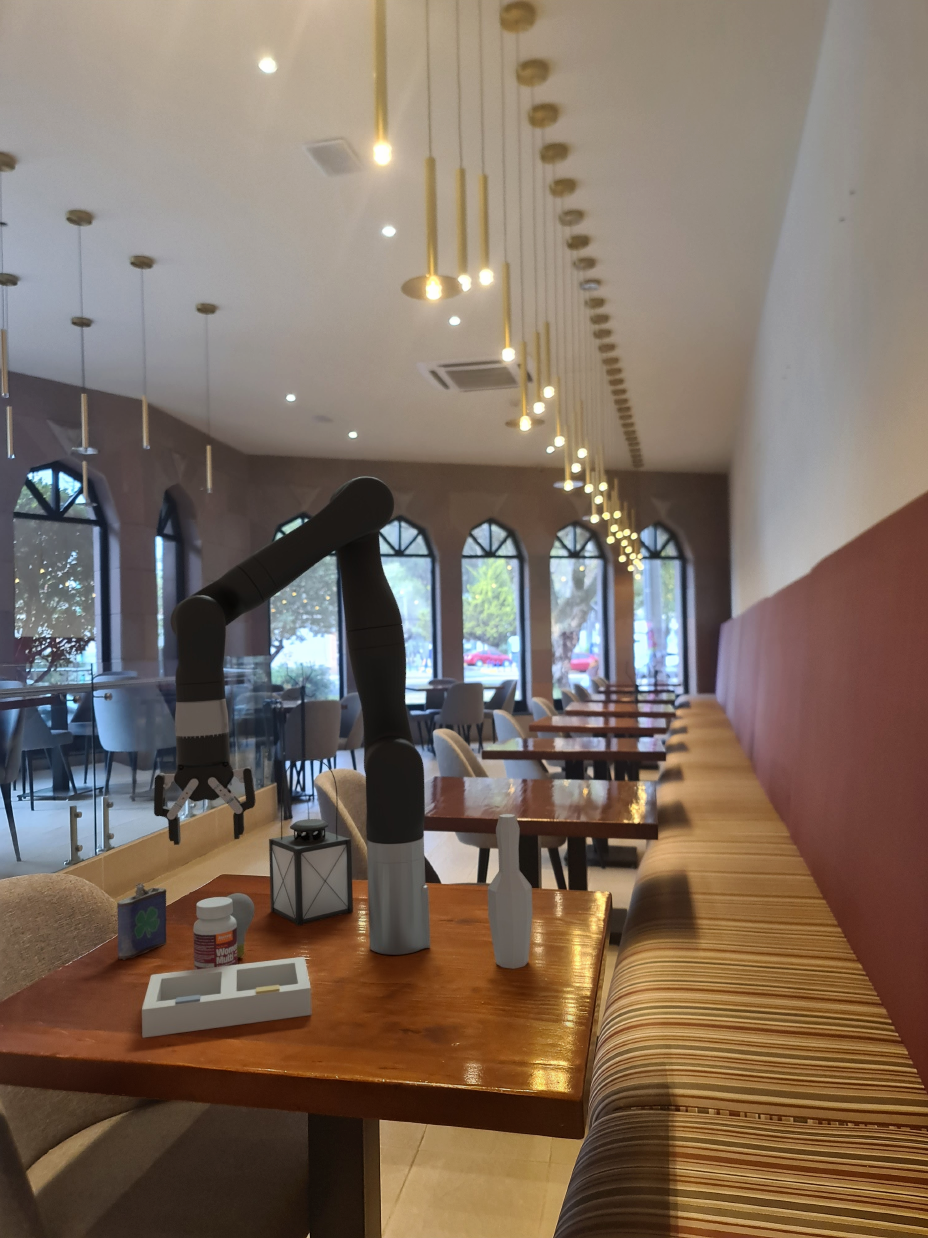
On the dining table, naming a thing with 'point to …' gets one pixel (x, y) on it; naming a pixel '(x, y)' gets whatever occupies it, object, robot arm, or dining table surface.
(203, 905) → the pill bottle
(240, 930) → the light bulb
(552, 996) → the dining table surface
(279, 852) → the lantern
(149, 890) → the flask
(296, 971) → the socket block
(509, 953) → the faceted bottle
